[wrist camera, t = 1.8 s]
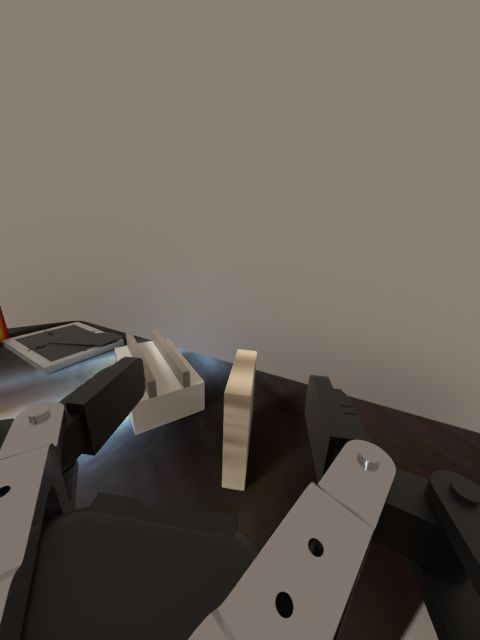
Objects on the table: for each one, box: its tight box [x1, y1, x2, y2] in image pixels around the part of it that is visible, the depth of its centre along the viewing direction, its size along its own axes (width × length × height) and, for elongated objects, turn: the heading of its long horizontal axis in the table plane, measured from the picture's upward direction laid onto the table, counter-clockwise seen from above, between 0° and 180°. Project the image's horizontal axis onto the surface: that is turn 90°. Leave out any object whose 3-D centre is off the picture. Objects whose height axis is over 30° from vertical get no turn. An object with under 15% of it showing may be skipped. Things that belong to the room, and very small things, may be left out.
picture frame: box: [2, 322, 124, 375], centre depth 54 cm, size 16×3×21 cm
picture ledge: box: [114, 329, 205, 435], centre depth 39 cm, size 18×10×8 cm, turn 33°
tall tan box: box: [222, 349, 257, 491], centre depth 27 cm, size 9×2×12 cm, turn 173°
